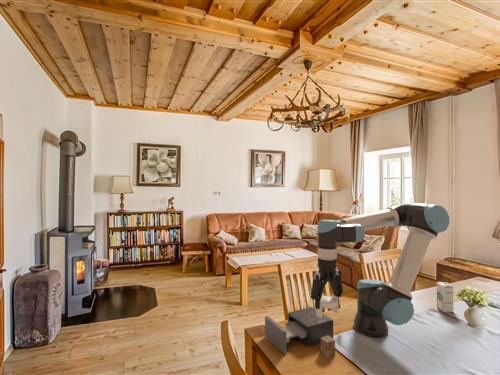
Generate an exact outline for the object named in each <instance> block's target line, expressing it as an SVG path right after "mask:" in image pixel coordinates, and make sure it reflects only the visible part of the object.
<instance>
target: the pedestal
mask: <svg viewBox="0 0 500 375" xmlns="http://www.w3.org/2000/svg"><path fill="white" fill-rule="evenodd" d="M320 353H321V354H322V355H323V356H324V357H326V358H331V357H333V356H335V355H336V340H335V339H334V337H333V338H331V337H330V336H325V337H322V338H321V343H320Z"/></svg>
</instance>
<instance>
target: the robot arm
mask: <svg viewBox="0 0 500 375" xmlns="http://www.w3.org/2000/svg"><path fill="white" fill-rule="evenodd" d="M450 220H451V219H450V215H449V213H448V211H447V210H446V208H445V207H443V206H442V205H440V204H433V203H421V202H420V203H419V202H408V203H407V202H406V203H402V204H397V205H393V206H389V207H386V208H385V209H384V210H380V211H374V212H370V213H365V214H359V215H353V216H349V217H344V218H339V219H320V220H318V221H317V222H318V223H317V257H318V258H317V267H318V271H317V273H313V274H312V284H311V293H310V299H311V300H314V306H315V307H314V309H316V315H317V316H318V317H320V318H322V313H323V308H322V301H321V297H322V296H323V293H324V289H325V286H326V285H327V283H328V282H329V284H330V288H331V290H332V293H333V294H331V297H333V298H336V299H337V300H338V305H339V303H340V298H342V295H343V293H344V289H343V281H342V270H339V269H337V267H338V259H337V258H338V244H343V243H347V244H348V243H349V244H350V243H354V244H355V243H360V242H363V241H364V240H365V237H366V235H365V234H366V231H370V230H375V229H380V228H385V227H388V226H389V227H391V228H395V227H406V228H407V231H408V234H407V236H406V239H405V242H404V244H403V246H402V249H401V251H400V254H399V256H398V259H397V261H396V263H395V266H394V269H393V270H392V274H391V275H390V278H389V280H388V281H387V282H383V281H382V280H379V279H369V278H365V279H360V280H359V281H358V282H357V287H356V289H357V291H356V292H357V294H356V295H357V296H356V297H357V300H356V301H357V311H356V313H355V317H354V319H353V328H354V330H355V331H357V333H359V334H361V335H363V336H368V337H372V338H383V337H386V336H387V335H388V334H389V326H388V324H387V322H389V323H391V324H393V325H395V326H403V325H405V324H407V323H409V322H410V320H412V318H414V314H415V308H414V304H413V302H412V300H413V294H412V293H411V291H412V288H413V286H414V283H415V280H416V278H417V275H418V273H419V270H420V268H421V265H422V264H423V261H424V258H425V256H426V253H427V250H428V248H429V246H430V243H431V242H432V240H436V239H437V237H438V235H439V233H443V232H445V231H447V229H448V228H449V226H450ZM331 310H332V312H334V313H336V314H338V313H339V306H338V307H337V308H335V309H331Z"/></svg>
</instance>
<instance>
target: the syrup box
mask: <svg viewBox="0 0 500 375" xmlns="http://www.w3.org/2000/svg"><path fill="white" fill-rule="evenodd" d="M436 308H437V309H438V310H440V311H441V312H443V313H454V308H455V307H454V285H452V284H450V283H449V282H446V281H437V282H436Z"/></svg>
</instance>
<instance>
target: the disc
mask: <svg viewBox="0 0 500 375" xmlns="http://www.w3.org/2000/svg"><path fill="white" fill-rule="evenodd" d="M321 301H322V309H325V310H326V309H328V310H332V309H335V308H337V307H338V308H339V304H338V300H337V299H336V298H333V297H332V296H328V295H322V297H321Z"/></svg>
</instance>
